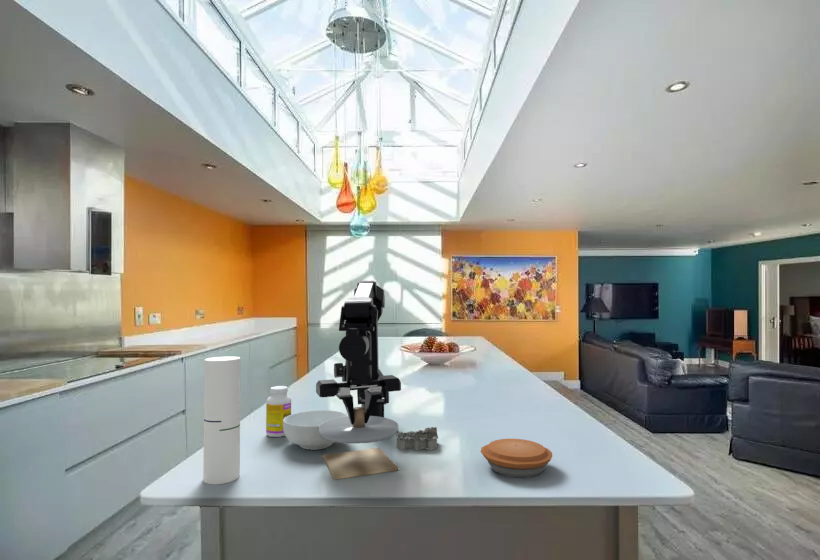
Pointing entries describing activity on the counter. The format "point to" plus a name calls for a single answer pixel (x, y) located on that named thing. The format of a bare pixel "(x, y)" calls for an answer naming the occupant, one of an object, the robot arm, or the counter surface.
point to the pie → (516, 457)
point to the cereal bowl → (309, 428)
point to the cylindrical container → (221, 419)
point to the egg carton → (418, 439)
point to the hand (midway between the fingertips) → (358, 423)
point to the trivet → (358, 463)
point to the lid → (358, 428)
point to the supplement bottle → (277, 410)
